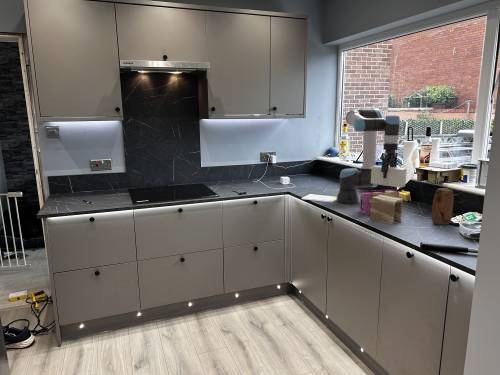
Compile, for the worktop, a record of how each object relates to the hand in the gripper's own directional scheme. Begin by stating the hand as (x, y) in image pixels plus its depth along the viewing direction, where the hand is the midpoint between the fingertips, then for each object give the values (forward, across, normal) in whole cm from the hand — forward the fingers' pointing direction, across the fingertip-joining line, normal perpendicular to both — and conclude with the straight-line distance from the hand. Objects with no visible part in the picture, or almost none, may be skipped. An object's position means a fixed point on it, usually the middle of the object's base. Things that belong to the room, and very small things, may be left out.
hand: (388, 182), depth 216 cm
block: (+23, +16, -25) cm, 37 cm away
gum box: (+23, +13, +12) cm, 29 cm away
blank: (+1, 0, 0) cm, 1 cm away
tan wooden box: (+22, 0, 0) cm, 22 cm away
